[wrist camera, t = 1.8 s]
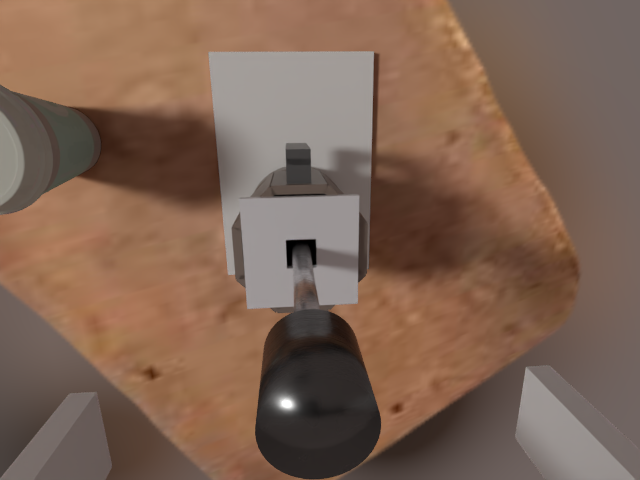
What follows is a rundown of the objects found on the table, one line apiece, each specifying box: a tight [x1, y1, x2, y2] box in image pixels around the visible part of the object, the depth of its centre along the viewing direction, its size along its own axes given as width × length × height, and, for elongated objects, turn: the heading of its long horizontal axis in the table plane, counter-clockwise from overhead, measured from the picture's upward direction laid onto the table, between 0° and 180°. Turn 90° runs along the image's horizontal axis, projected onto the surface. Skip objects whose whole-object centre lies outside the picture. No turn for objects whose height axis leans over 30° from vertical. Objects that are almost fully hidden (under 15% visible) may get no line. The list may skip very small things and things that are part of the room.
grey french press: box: [231, 143, 368, 313], centre depth 31 cm, size 11×9×12 cm
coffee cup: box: [0, 85, 101, 215], centre depth 29 cm, size 8×8×12 cm
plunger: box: [255, 241, 381, 479], centre depth 19 cm, size 4×4×16 cm
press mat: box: [208, 52, 374, 275], centre depth 37 cm, size 20×14×1 cm
